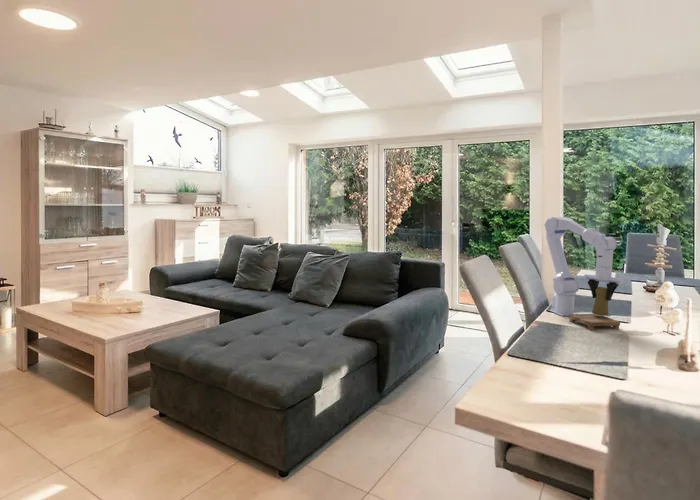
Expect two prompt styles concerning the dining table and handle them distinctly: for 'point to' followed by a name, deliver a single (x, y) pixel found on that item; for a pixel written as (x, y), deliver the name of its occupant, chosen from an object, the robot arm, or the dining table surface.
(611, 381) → the dining table surface
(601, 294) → the olive bulb-shaped piece
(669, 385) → the dining table surface
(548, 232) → the robot arm
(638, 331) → the dining table surface
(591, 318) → the tan square board
